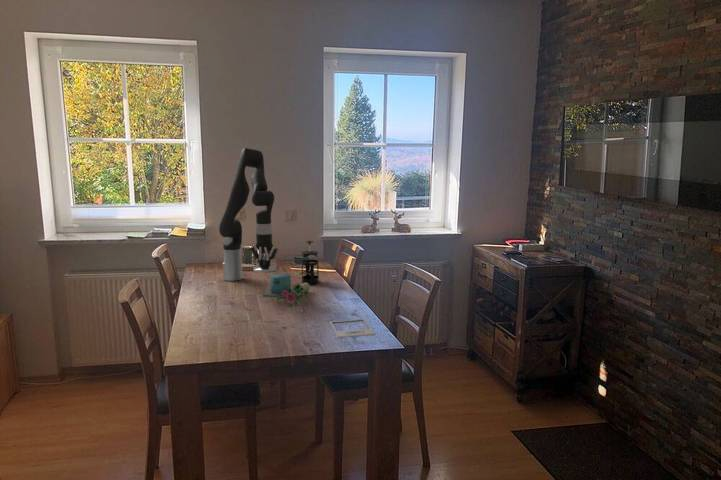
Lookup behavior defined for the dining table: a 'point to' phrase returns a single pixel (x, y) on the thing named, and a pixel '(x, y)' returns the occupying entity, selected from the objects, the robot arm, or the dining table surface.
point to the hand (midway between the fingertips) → (265, 267)
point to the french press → (309, 278)
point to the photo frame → (354, 332)
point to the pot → (278, 285)
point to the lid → (264, 268)
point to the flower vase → (297, 290)
